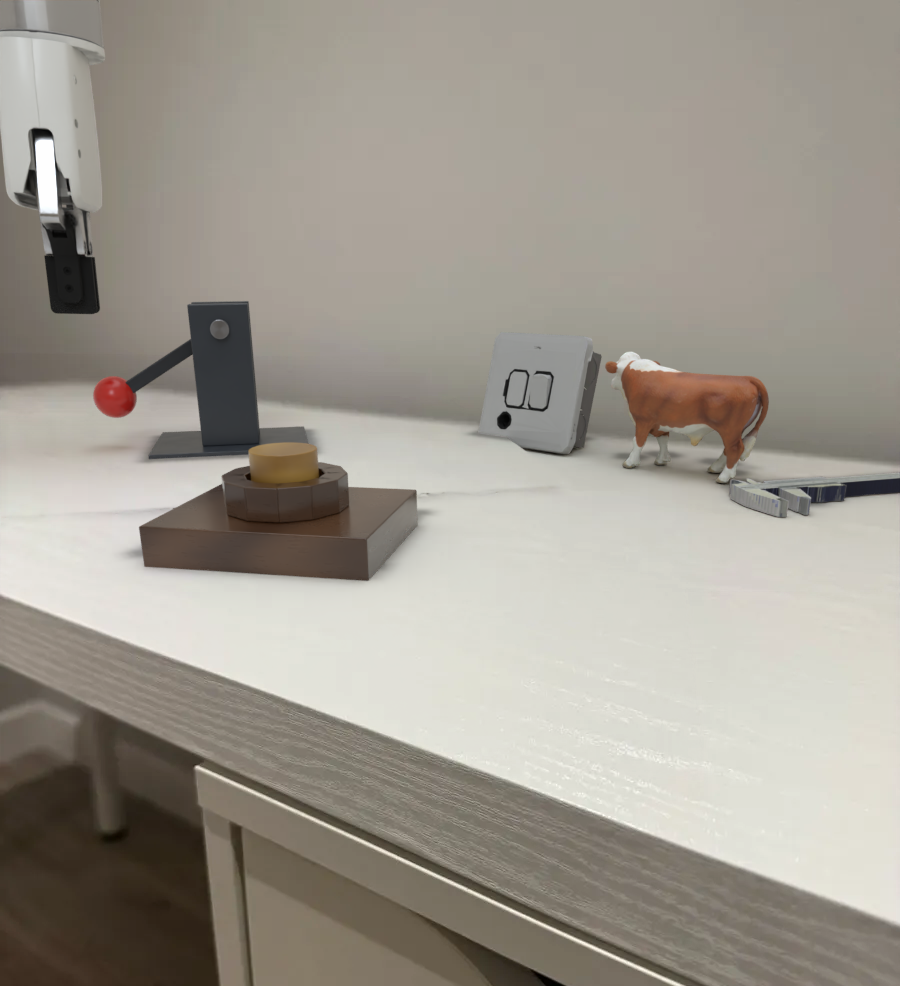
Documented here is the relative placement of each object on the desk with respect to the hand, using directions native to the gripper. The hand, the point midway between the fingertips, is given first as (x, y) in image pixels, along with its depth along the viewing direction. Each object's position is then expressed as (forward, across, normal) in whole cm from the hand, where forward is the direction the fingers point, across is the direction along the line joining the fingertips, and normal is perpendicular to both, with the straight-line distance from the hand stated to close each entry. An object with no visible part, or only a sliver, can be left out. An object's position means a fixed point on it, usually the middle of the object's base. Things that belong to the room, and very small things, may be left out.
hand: (76, 312), depth 66 cm
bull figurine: (+10, +14, +43) cm, 46 cm away
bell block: (+11, +26, +15) cm, 32 cm away
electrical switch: (+10, +2, +36) cm, 38 cm away
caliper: (+9, +25, +54) cm, 60 cm away
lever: (+5, 0, +7) cm, 9 cm away
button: (+7, +26, +15) cm, 31 cm away
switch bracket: (+11, 0, +11) cm, 15 cm away
